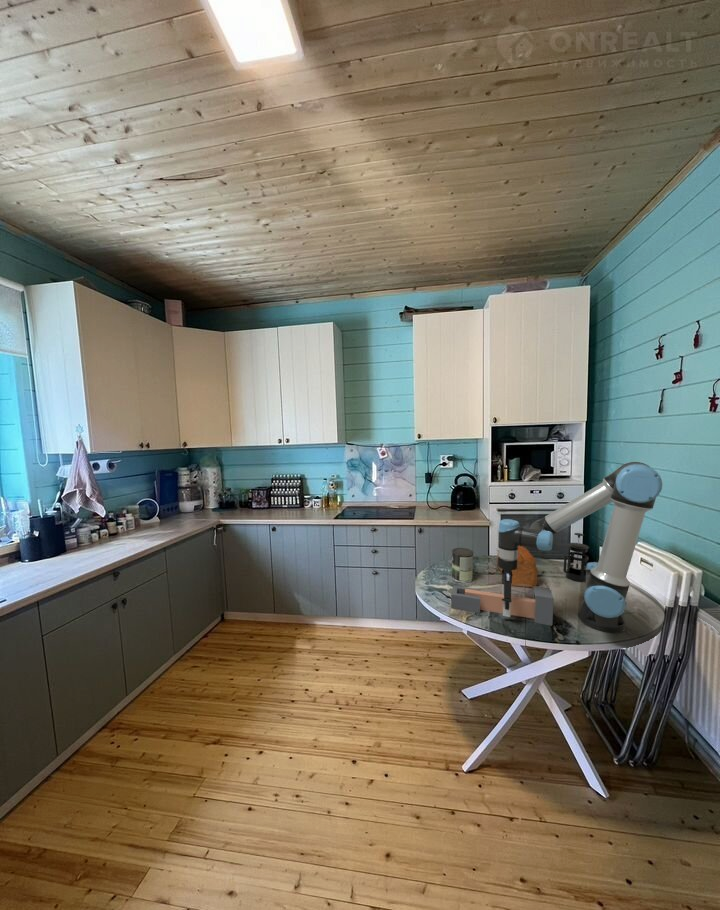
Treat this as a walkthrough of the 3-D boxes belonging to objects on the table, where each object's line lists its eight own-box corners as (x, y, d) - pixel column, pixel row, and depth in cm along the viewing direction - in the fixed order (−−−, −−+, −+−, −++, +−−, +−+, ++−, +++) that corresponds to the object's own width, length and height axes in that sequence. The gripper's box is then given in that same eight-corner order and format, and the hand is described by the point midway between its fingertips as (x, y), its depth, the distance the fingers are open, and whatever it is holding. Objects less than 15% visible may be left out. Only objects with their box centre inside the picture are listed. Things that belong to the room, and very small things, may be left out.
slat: (536, 615, 143) (537, 599, 142) (537, 619, 140) (538, 602, 140) (464, 604, 152) (465, 588, 152) (464, 607, 149) (464, 591, 149)
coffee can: (448, 580, 175) (449, 552, 174) (454, 572, 184) (455, 546, 183) (469, 584, 170) (470, 556, 169) (474, 577, 179) (475, 550, 178)
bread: (521, 565, 193) (522, 539, 192) (539, 588, 167) (540, 557, 166) (495, 564, 195) (496, 537, 194) (508, 586, 169) (509, 555, 167)
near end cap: (548, 613, 144) (549, 588, 143) (552, 625, 136) (553, 598, 135) (532, 611, 146) (533, 585, 145) (534, 622, 138) (536, 595, 137)
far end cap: (480, 602, 153) (480, 589, 152) (479, 613, 144) (480, 599, 144) (452, 598, 157) (453, 585, 156) (450, 608, 148) (451, 594, 148)
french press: (581, 574, 182) (583, 530, 180) (593, 582, 173) (596, 536, 171) (558, 574, 182) (560, 530, 180) (569, 582, 173) (572, 536, 171)
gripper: (496, 546, 156) (495, 592, 158) (498, 568, 133) (496, 621, 135) (515, 548, 154) (513, 595, 156) (520, 571, 130) (518, 625, 132)
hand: (505, 607), depth 145 cm, fingers open, 13 cm apart
